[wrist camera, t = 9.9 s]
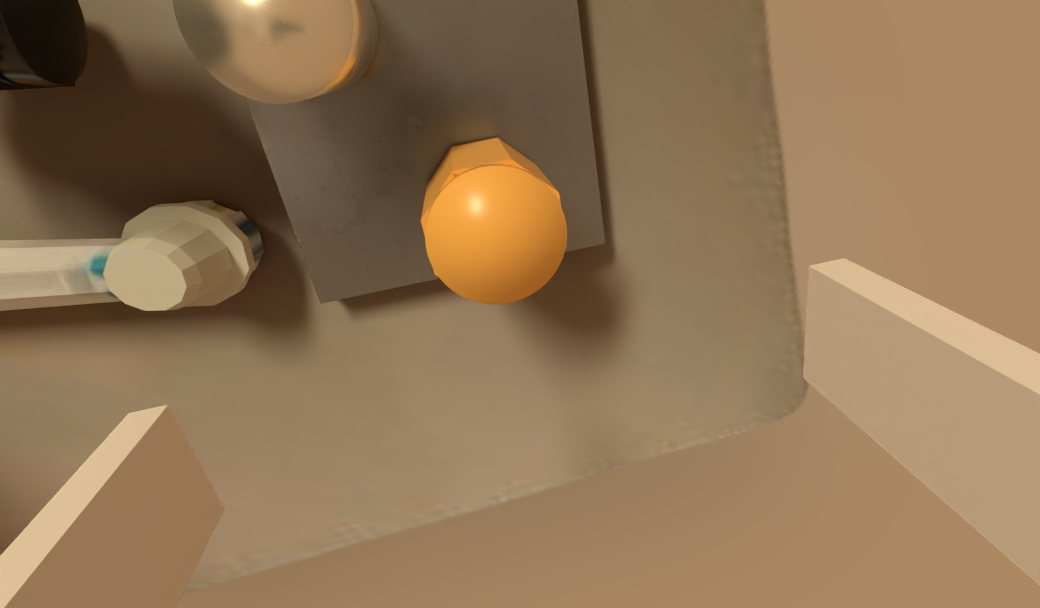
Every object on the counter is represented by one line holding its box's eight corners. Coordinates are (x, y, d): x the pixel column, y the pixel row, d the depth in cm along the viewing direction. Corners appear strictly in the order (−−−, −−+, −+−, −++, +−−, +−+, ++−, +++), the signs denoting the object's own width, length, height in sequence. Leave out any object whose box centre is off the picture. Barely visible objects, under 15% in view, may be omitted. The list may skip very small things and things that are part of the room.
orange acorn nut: (444, 259, 29) (443, 316, 23) (418, 153, 27) (408, 183, 20) (547, 237, 29) (575, 288, 23) (530, 130, 27) (556, 153, 20)
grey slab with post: (327, 289, 32) (284, 371, 23) (215, -27, 25) (97, -72, 17) (596, 233, 32) (648, 293, 24) (557, -91, 26) (609, -165, 17)
